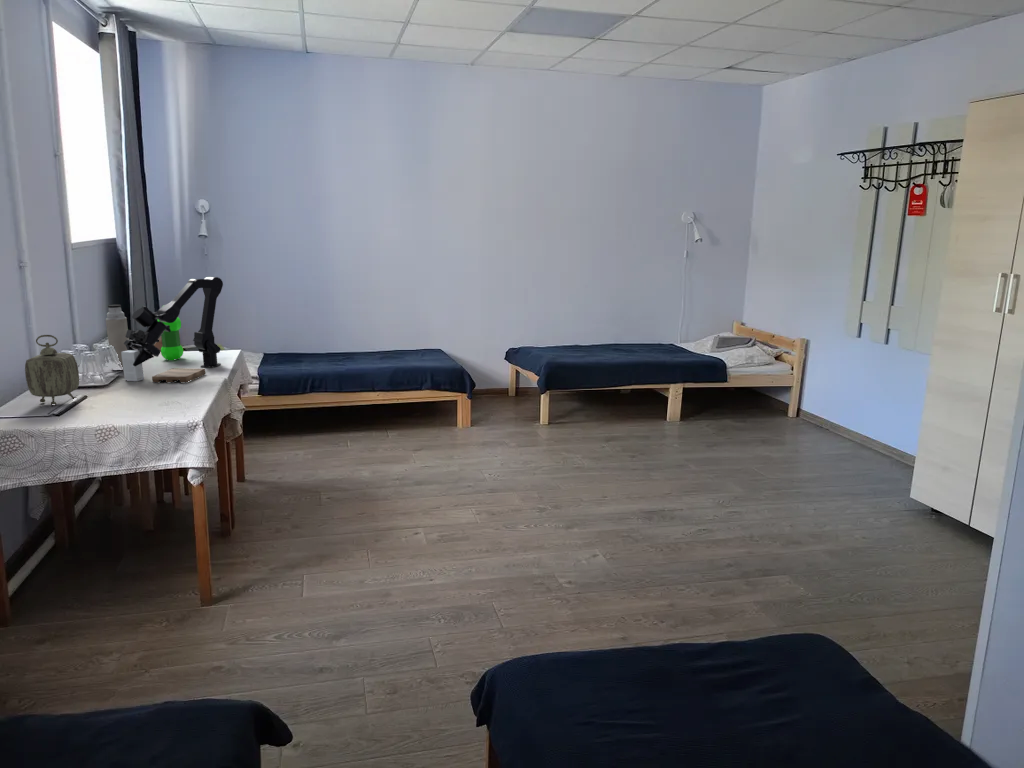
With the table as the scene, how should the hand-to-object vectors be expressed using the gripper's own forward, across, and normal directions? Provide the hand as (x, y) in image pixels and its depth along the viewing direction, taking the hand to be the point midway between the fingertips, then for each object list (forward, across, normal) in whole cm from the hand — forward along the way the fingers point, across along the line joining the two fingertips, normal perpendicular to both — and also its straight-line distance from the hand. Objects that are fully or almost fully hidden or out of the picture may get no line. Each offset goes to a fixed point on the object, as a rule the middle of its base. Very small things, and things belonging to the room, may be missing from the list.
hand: (129, 364), depth 299 cm
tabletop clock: (+30, +16, -20) cm, 39 cm away
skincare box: (+4, 0, +6) cm, 7 cm away
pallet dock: (-5, +12, +14) cm, 20 cm away
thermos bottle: (-2, -26, +12) cm, 29 cm away
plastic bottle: (-19, -29, +29) cm, 45 cm away
